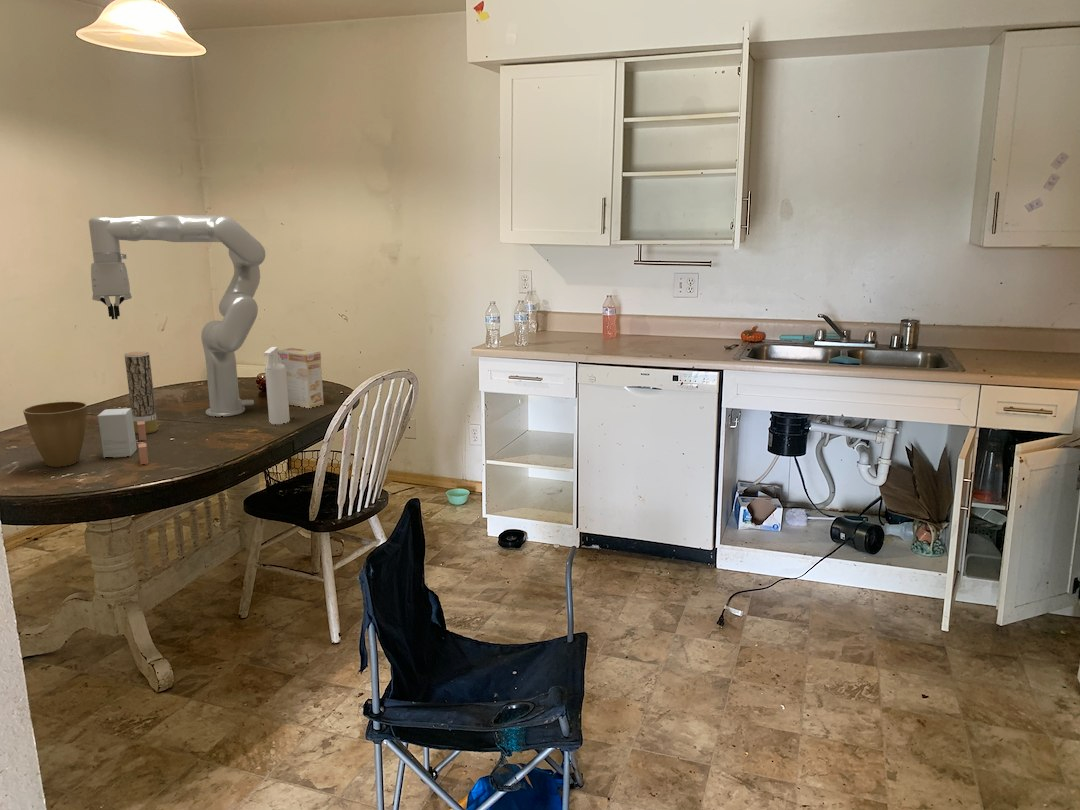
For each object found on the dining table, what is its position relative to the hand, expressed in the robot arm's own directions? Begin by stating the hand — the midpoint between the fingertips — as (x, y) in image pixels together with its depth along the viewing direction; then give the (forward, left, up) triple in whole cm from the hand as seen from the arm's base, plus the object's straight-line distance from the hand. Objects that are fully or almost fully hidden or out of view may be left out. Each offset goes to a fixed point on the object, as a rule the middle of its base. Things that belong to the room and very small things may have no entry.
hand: (114, 318), depth 248 cm
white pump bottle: (-45, +12, -35) cm, 58 cm away
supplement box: (+2, +29, -35) cm, 46 cm away
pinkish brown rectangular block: (-4, +28, -35) cm, 45 cm away
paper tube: (-5, +7, -35) cm, 36 cm away
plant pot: (+16, +32, -35) cm, 50 cm away
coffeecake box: (-56, -9, -35) cm, 67 cm away
